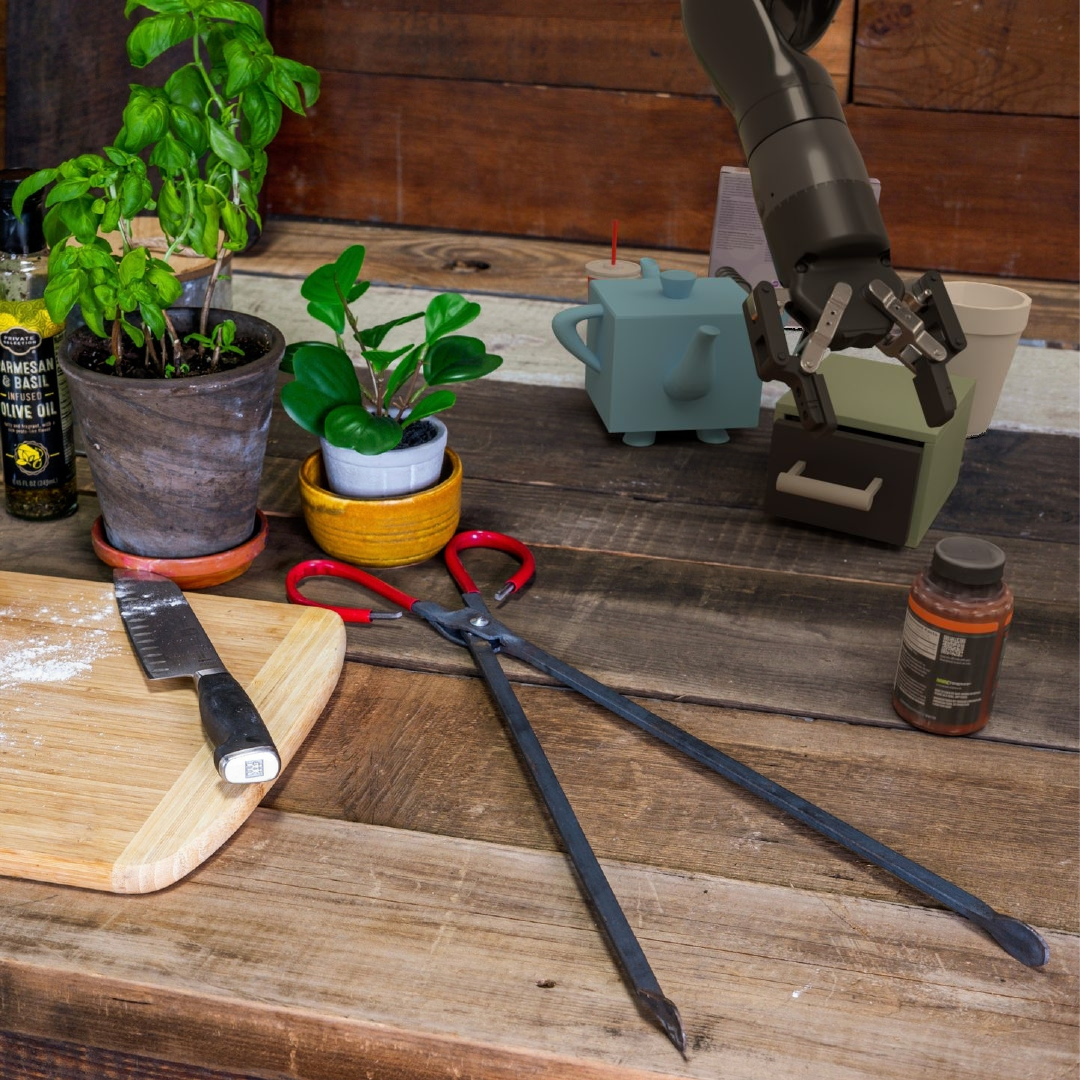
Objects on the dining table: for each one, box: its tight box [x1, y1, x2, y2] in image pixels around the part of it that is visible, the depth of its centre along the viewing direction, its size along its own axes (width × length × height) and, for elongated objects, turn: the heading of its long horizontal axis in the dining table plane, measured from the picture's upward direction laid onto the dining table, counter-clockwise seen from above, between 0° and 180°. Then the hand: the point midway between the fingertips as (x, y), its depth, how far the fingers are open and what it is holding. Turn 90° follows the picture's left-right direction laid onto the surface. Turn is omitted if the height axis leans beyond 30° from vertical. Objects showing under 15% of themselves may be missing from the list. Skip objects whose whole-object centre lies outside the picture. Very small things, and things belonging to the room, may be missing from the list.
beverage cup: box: [584, 219, 642, 298], centre depth 138 cm, size 6×6×14 cm
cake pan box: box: [707, 165, 882, 326], centre depth 146 cm, size 19×5×18 cm, turn 80°
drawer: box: [762, 416, 925, 547], centre depth 100 cm, size 18×11×8 cm, turn 151°
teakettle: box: [551, 256, 790, 447], centre depth 117 cm, size 19×19×15 cm
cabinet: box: [763, 352, 977, 549], centre depth 104 cm, size 15×13×10 cm
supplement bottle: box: [892, 535, 1015, 736], centre depth 75 cm, size 6×6×11 cm
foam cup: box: [941, 280, 1033, 437], centre depth 119 cm, size 10×9×13 cm
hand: (885, 429), depth 80 cm, fingers open, 8 cm apart
